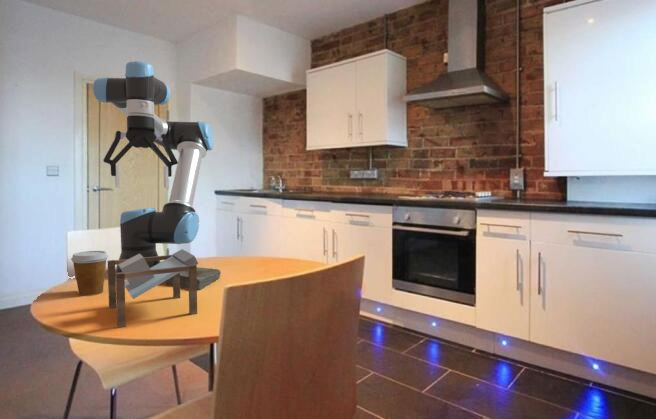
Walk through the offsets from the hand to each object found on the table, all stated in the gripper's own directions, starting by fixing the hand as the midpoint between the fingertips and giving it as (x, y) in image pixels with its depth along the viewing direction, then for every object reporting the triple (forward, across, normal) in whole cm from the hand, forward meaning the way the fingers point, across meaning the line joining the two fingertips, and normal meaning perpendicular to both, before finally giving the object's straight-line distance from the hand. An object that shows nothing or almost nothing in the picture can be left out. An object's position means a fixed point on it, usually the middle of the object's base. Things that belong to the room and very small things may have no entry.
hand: (142, 187), depth 122 cm
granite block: (+24, -4, -21) cm, 32 cm away
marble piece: (+32, +15, +2) cm, 36 cm away
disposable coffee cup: (+32, -14, +6) cm, 35 cm away
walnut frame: (+32, -2, -21) cm, 38 cm away
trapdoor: (+23, +1, -21) cm, 31 cm away
